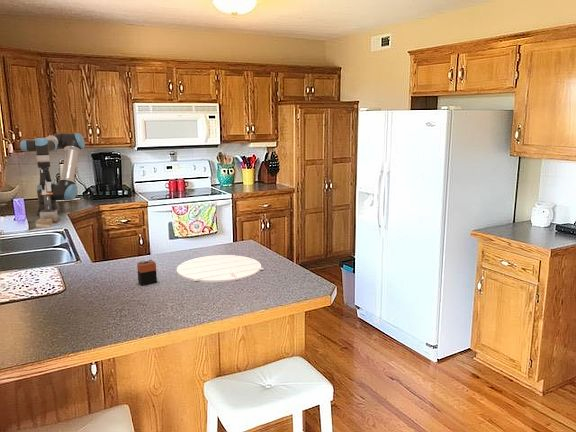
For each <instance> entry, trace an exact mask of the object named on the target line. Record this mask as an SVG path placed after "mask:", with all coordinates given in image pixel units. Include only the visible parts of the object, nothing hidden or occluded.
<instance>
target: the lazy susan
mask: <svg viewBox="0 0 576 432" xmlns="http://www.w3.org/2000/svg"><path fill="white" fill-rule="evenodd" d="M264 270H265V269H264V267H263V266H262V264H261V263H260V261H259V260H257V259H255V258H251V257H248V256H243V255H235V254H234V255H233V254H221V255H220V254H216V255H215V254H214V255H207V256H200V257H196V258H191V259H189V260H186V261H183V262H182V263H180V264H179V265H178V266H176V274H178V276H179V277H181V278H183V279H186V280H190V281H194V282H201V283H224V282H226V281H227V282H234V280H235V281H240V280H243V278H244V279H247V277H248V278H250V276H251V277H253V276H255V275H256V273H257V274H258V273H260V271H264ZM239 279H240V280H239ZM227 282H226V283H227Z"/></svg>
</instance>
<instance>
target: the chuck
mask: <svg viewBox="0 0 576 432" xmlns="http://www.w3.org/2000/svg"><path fill="white" fill-rule="evenodd" d="M58 215H59V214H57V210H52V211H48V212H46V211H45V210H42V211H41V212H40V216H39V219H52V224H58V223H59V222H60V221H61V220H62V218H61V217H59V216H58Z"/></svg>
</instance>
